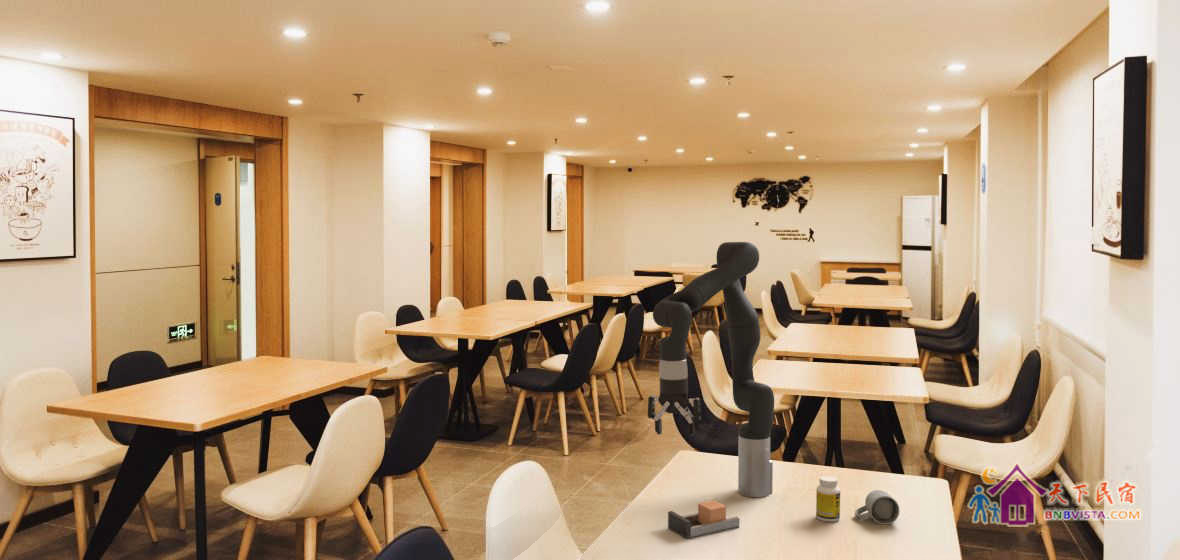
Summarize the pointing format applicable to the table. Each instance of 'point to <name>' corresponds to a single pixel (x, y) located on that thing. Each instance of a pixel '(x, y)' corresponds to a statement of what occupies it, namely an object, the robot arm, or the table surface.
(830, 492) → the pill bottle
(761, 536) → the table surface
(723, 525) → the chute
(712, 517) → the block
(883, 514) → the ceramic mug
